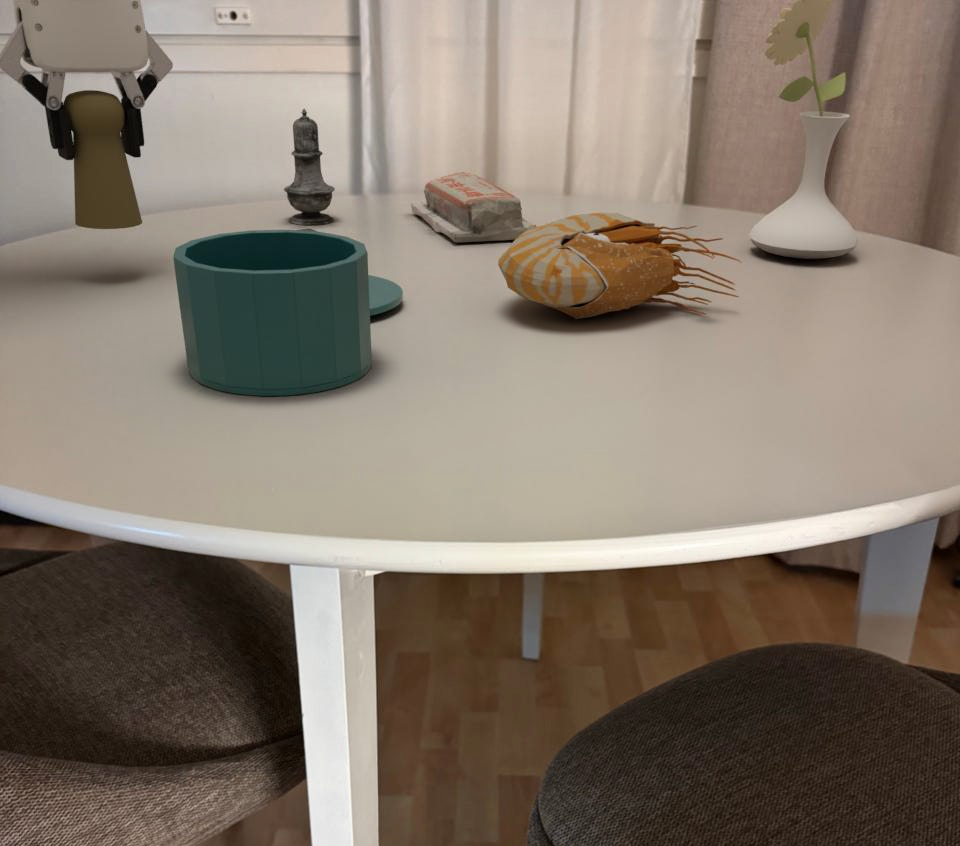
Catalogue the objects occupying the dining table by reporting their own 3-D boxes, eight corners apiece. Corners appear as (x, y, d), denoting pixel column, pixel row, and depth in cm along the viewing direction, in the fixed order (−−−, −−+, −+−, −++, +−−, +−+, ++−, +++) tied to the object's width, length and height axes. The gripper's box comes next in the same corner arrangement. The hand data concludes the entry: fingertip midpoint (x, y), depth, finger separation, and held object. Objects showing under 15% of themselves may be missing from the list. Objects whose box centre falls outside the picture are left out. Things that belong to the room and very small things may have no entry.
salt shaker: (304, 227, 123) (296, 112, 116) (276, 219, 127) (267, 107, 120) (346, 221, 126) (340, 109, 120) (318, 213, 130) (311, 104, 123)
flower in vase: (815, 240, 121) (861, -16, 108) (876, 263, 112) (934, -14, 99) (714, 247, 118) (748, -18, 104) (769, 271, 109) (813, -15, 95)
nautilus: (730, 300, 101) (739, 357, 89) (506, 275, 102) (485, 327, 90) (748, 213, 96) (761, 261, 84) (513, 188, 98) (492, 231, 85)
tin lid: (279, 337, 87) (273, 262, 84) (214, 296, 97) (206, 228, 94) (433, 313, 94) (432, 242, 91) (356, 277, 104) (354, 212, 101)
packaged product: (540, 194, 116) (453, 199, 114) (538, 241, 119) (453, 246, 116) (487, 168, 131) (409, 171, 128) (486, 210, 133) (410, 214, 131)
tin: (230, 408, 73) (215, 282, 68) (164, 355, 83) (147, 241, 78) (402, 376, 79) (399, 258, 75) (323, 330, 89) (316, 223, 84)
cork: (92, 214, 102) (74, 86, 97) (152, 219, 102) (137, 90, 96) (63, 226, 97) (42, 92, 92) (126, 231, 97) (108, 96, 91)
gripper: (155, -77, 94) (177, 148, 103) (-54, -91, 86) (-9, 154, 95) (184, -78, 88) (205, 159, 98) (-36, -93, 80) (10, 167, 90)
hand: (99, 154), depth 97 cm, fingers closed on cork, 5 cm apart
